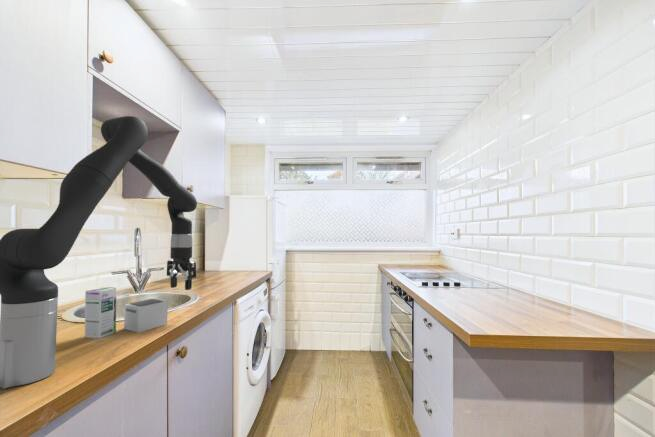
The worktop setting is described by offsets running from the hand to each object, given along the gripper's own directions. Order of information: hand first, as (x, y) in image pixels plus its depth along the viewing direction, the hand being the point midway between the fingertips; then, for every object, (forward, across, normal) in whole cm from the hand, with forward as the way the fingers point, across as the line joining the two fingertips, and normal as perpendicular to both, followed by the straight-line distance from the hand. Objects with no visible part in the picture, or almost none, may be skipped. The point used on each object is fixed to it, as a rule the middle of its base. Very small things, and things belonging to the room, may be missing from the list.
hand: (180, 288), depth 116 cm
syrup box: (+11, -4, -25) cm, 28 cm away
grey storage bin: (+11, 0, -13) cm, 17 cm away
